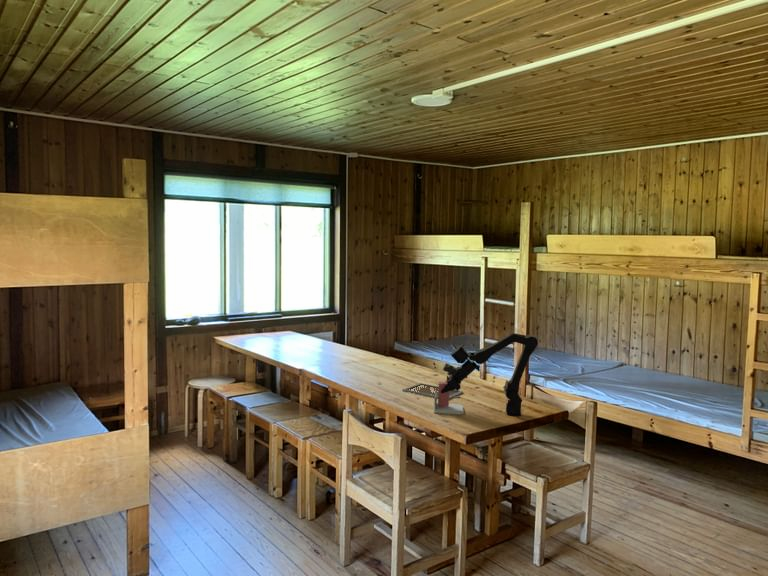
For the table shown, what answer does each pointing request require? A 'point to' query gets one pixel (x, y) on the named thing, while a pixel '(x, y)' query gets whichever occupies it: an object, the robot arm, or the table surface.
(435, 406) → the shelf
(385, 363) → the table surface
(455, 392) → the gray perforated panel
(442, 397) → the tall pink rectangular prism
